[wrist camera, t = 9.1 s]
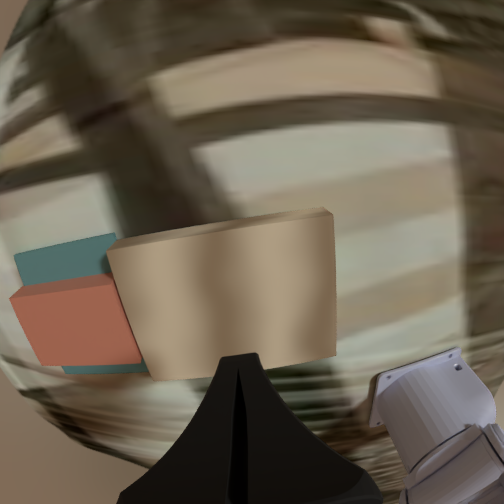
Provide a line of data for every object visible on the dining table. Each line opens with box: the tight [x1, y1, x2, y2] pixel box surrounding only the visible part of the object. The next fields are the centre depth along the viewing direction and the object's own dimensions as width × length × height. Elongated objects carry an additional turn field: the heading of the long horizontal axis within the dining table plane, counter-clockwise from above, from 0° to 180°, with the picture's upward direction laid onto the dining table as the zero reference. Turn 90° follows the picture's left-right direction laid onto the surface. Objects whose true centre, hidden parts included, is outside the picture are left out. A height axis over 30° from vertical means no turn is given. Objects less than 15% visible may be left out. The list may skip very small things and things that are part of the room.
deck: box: [106, 207, 337, 381], centre depth 19 cm, size 13×10×2 cm
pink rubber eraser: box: [9, 272, 143, 366], centre depth 19 cm, size 9×6×2 cm, turn 98°
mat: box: [14, 233, 149, 374], centre depth 20 cm, size 9×11×1 cm
